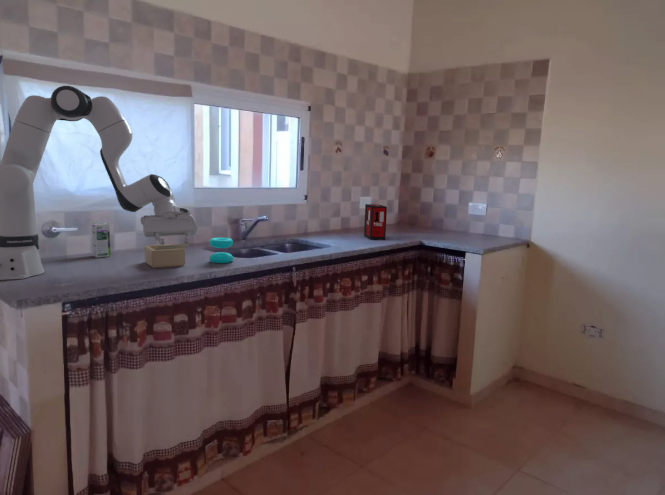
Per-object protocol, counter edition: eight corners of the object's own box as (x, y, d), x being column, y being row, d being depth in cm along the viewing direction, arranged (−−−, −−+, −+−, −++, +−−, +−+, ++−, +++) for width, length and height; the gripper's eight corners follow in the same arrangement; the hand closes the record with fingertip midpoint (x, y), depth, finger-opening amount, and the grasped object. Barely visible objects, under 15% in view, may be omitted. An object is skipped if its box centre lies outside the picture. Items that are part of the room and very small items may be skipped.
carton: (152, 268, 186) (152, 250, 185) (144, 262, 197) (143, 245, 196) (185, 265, 193) (185, 248, 192) (176, 259, 204) (175, 243, 203)
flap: (154, 250, 185) (159, 246, 178) (154, 249, 185) (159, 245, 178) (184, 248, 191) (189, 244, 185) (183, 247, 191) (189, 243, 185)
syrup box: (96, 257, 202) (95, 224, 200) (93, 255, 207) (91, 222, 204) (111, 256, 206) (109, 223, 204) (107, 254, 210) (105, 222, 208)
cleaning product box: (385, 240, 283) (386, 206, 280) (370, 240, 282) (372, 206, 278) (377, 236, 299) (379, 204, 296) (363, 236, 298) (365, 204, 294)
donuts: (234, 240, 199) (210, 240, 196) (234, 263, 201) (210, 264, 198) (231, 236, 209) (208, 237, 205) (231, 259, 210) (208, 259, 207)
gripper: (140, 210, 180) (147, 239, 173) (194, 209, 191) (202, 236, 185) (138, 221, 184) (145, 249, 178) (190, 219, 196) (198, 246, 189)
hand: (174, 243), depth 181 cm, fingers open, 8 cm apart
